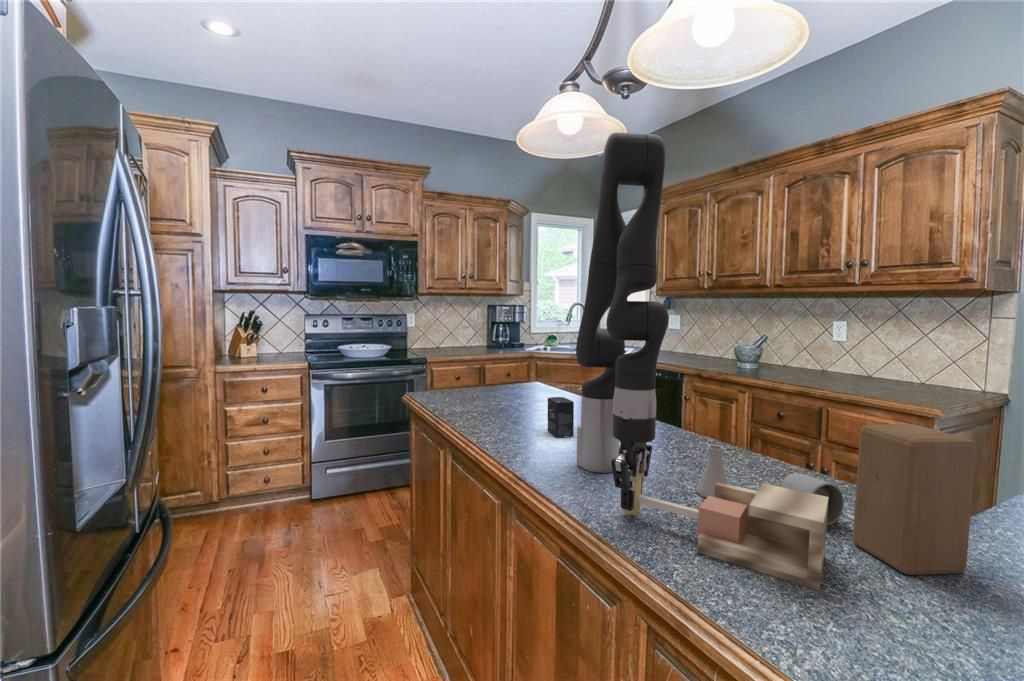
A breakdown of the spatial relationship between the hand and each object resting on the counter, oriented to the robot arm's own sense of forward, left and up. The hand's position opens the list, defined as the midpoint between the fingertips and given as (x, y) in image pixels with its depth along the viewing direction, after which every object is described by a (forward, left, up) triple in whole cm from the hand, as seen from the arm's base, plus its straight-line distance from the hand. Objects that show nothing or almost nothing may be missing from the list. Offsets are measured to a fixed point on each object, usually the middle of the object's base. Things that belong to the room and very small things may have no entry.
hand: (631, 505), depth 85 cm
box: (-40, +40, -2) cm, 57 cm away
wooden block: (+39, +13, -2) cm, 41 cm away
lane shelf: (+21, 0, -2) cm, 21 cm away
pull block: (+8, 0, -1) cm, 9 cm away
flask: (+9, +21, -2) cm, 23 cm away
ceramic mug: (+25, +20, -2) cm, 32 cm away
